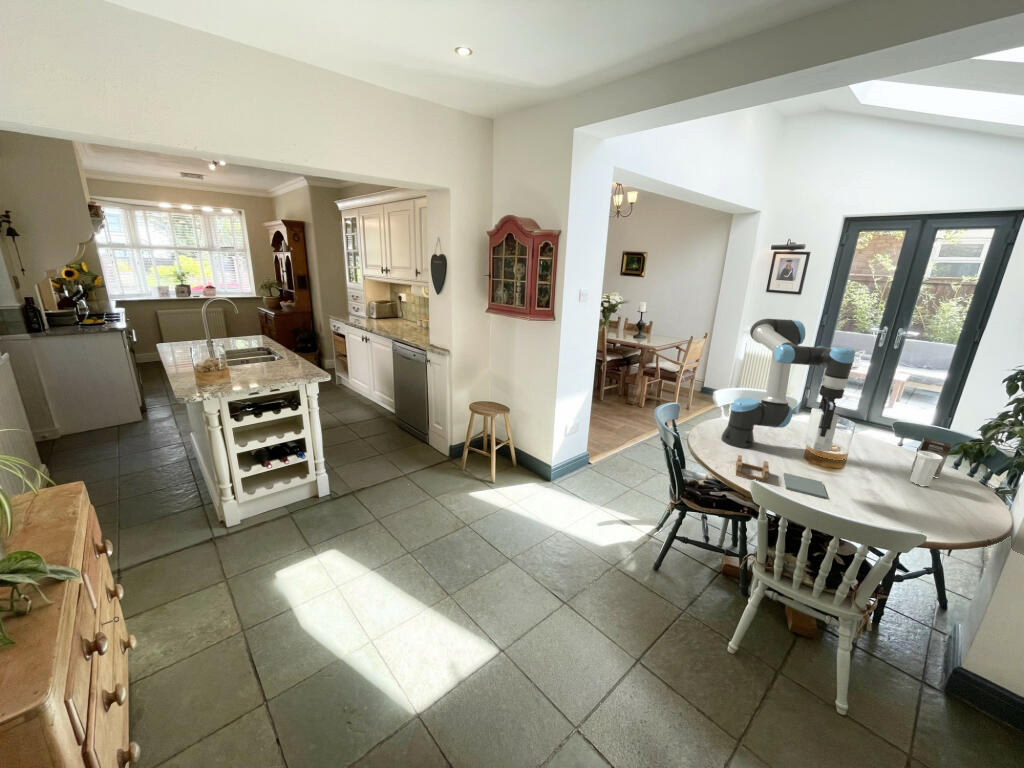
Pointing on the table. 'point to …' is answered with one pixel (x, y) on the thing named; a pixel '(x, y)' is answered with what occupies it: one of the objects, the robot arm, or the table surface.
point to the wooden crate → (764, 470)
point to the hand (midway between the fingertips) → (817, 438)
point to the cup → (925, 467)
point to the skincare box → (813, 431)
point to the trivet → (804, 485)
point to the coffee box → (935, 451)
